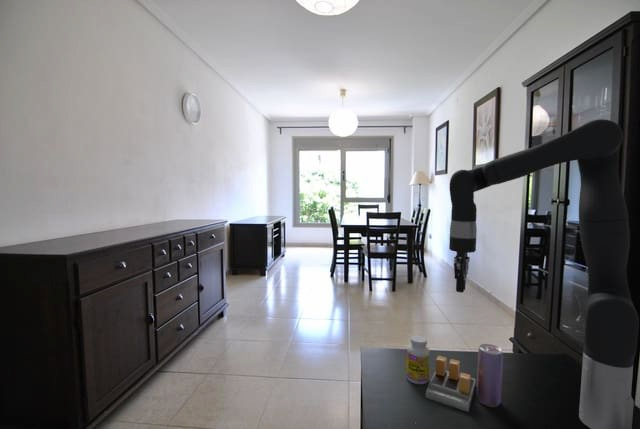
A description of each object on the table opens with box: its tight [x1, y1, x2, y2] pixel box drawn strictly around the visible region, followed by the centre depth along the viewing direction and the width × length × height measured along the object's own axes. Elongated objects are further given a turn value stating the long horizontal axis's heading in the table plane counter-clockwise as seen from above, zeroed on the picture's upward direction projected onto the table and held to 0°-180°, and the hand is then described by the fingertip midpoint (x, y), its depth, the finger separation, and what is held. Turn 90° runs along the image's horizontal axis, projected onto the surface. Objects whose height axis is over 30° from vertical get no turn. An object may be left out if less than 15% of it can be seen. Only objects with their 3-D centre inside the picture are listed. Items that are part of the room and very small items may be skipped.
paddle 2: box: [448, 358, 461, 380], centre depth 97 cm, size 2×3×5 cm
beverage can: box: [476, 343, 504, 408], centre depth 89 cm, size 6×6×15 cm
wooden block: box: [435, 355, 447, 376], centre depth 99 cm, size 2×3×5 cm
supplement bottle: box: [405, 335, 431, 385], centre depth 100 cm, size 7×7×13 cm
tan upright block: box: [459, 371, 472, 394], centre depth 90 cm, size 2×3×5 cm
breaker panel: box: [425, 370, 476, 413], centre depth 94 cm, size 11×14×3 cm
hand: (460, 290), depth 101 cm, fingers closed
